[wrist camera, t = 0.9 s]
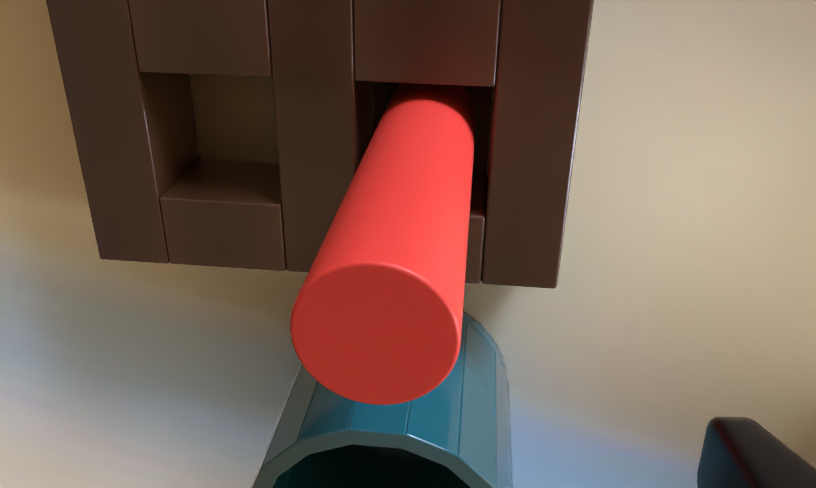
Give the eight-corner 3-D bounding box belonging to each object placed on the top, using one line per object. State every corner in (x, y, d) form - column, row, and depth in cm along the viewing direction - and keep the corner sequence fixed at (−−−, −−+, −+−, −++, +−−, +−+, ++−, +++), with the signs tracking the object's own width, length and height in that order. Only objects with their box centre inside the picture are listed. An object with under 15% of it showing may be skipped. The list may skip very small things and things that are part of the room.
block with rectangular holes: (609, -274, 16) (633, -305, 13) (548, 239, 21) (556, 289, 19) (63, -272, 17) (-18, -301, 14) (146, 214, 22) (99, 259, 20)
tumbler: (515, 299, 22) (523, 444, 17) (499, 464, 26) (501, 634, 20) (298, 285, 23) (234, 419, 17) (309, 448, 26) (257, 607, 20)
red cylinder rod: (478, 72, 19) (465, 268, 10) (473, 159, 20) (456, 413, 11) (387, 69, 19) (283, 257, 10) (387, 155, 21) (293, 400, 11)
